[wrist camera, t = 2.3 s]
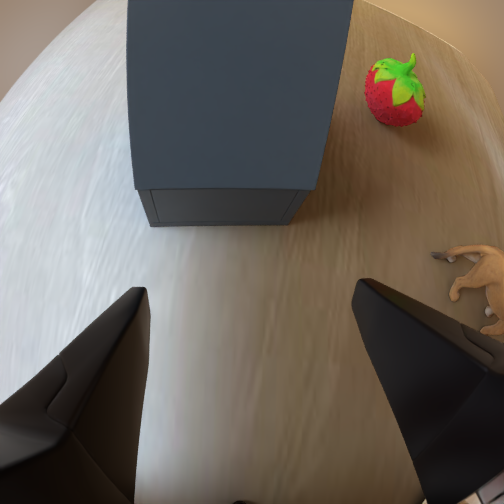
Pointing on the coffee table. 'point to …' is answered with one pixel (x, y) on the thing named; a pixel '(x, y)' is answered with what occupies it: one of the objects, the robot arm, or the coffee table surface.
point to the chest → (221, 206)
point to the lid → (232, 90)
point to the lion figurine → (481, 279)
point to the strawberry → (394, 92)
